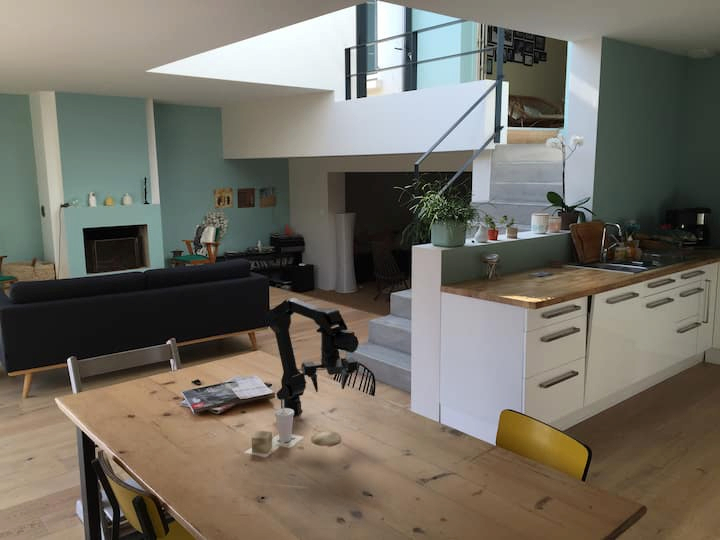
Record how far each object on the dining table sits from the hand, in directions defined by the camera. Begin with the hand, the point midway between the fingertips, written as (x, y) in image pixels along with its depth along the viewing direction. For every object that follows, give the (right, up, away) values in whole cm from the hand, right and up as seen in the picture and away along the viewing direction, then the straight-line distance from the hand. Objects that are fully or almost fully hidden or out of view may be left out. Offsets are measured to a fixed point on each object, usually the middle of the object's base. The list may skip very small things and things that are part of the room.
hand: (329, 390), depth 205 cm
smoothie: (-14, -15, -8) cm, 22 cm away
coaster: (-1, -15, -7) cm, 16 cm away
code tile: (-14, -15, -8) cm, 22 cm away
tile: (-21, -16, -15) cm, 30 cm away
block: (-21, -16, -15) cm, 30 cm away
